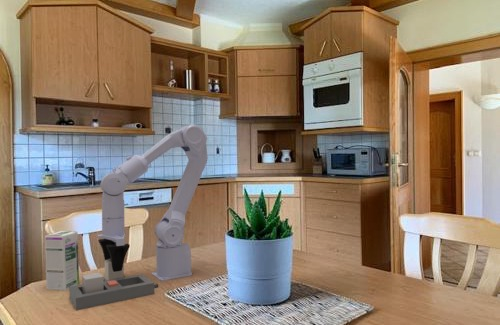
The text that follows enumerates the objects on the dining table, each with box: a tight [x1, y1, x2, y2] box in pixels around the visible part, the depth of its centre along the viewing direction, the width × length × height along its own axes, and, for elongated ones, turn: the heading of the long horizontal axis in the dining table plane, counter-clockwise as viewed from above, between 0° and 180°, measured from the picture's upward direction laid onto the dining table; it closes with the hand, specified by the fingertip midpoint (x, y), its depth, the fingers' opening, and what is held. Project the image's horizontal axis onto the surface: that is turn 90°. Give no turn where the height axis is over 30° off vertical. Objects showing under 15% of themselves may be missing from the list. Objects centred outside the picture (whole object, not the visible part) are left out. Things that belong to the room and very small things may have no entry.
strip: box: [68, 272, 159, 311], centre depth 96 cm, size 20×9×6 cm, turn 124°
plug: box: [104, 258, 125, 280], centre depth 105 cm, size 4×4×6 cm
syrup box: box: [44, 230, 80, 291], centre depth 102 cm, size 6×6×14 cm
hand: (113, 267), depth 105 cm, fingers open, 7 cm apart
